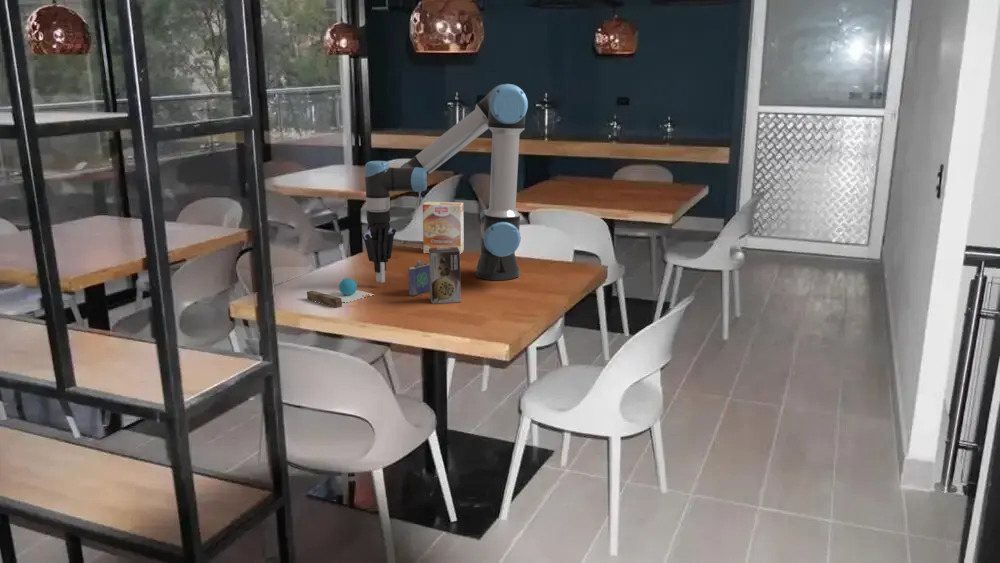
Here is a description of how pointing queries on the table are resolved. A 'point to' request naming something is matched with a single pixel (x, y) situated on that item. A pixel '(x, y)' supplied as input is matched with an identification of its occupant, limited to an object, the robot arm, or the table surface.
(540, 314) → the table surface
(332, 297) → the strip
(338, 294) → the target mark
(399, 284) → the table surface
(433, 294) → the cookie box
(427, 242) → the coffeecake box
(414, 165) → the robot arm
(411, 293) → the flask
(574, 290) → the table surface
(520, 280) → the table surface
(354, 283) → the ball
